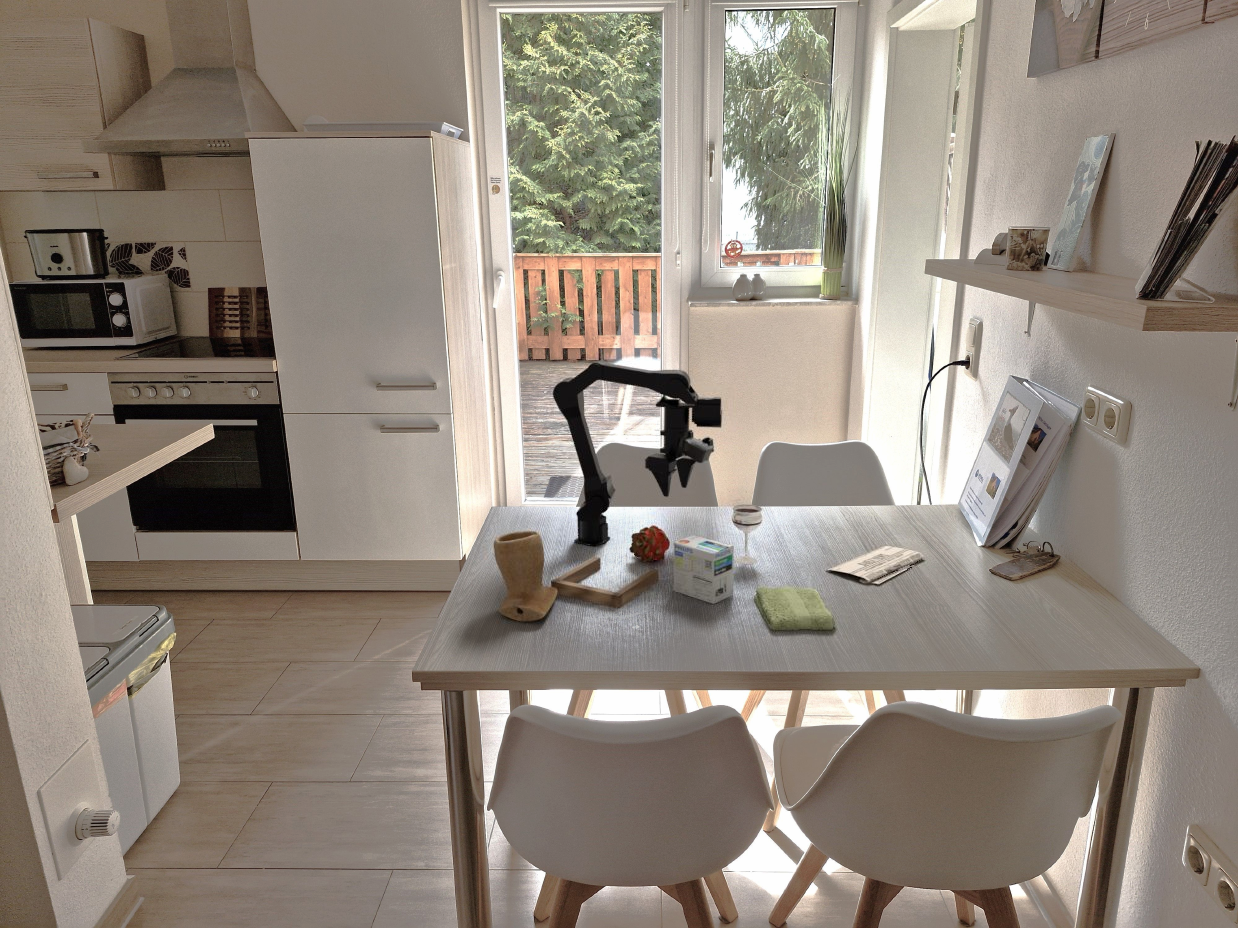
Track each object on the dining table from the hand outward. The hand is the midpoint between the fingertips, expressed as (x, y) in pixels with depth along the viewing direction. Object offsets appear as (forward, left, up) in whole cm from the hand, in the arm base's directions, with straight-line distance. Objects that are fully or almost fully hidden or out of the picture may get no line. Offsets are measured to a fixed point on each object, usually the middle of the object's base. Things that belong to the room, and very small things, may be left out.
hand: (675, 492), depth 204 cm
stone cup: (-8, -47, -13) cm, 50 cm away
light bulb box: (+19, -23, -13) cm, 33 cm away
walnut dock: (0, -29, -13) cm, 32 cm away
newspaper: (+46, +10, -14) cm, 49 cm away
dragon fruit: (0, -11, -13) cm, 18 cm away
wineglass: (+19, -1, -13) cm, 23 cm away
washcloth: (+38, -24, -14) cm, 46 cm away
